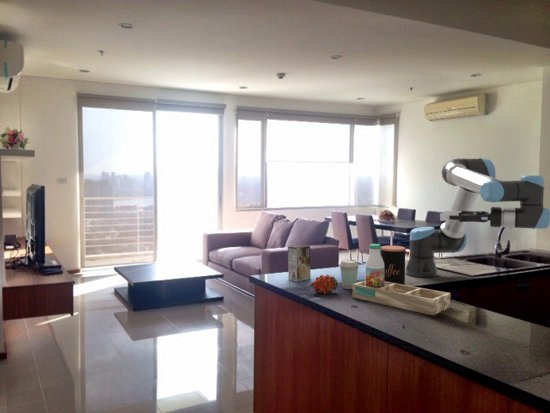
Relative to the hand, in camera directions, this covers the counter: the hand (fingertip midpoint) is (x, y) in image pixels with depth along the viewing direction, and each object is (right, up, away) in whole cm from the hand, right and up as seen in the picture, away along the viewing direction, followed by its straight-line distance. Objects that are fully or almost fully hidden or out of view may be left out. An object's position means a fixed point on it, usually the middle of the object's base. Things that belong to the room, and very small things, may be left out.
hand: (442, 215), depth 187 cm
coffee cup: (-33, -33, +24) cm, 52 cm away
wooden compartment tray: (-17, -34, 0) cm, 38 cm away
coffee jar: (-14, -33, +24) cm, 43 cm away
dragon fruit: (-45, -34, +15) cm, 58 cm away
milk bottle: (-25, -32, +8) cm, 41 cm away
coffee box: (-54, -32, +41) cm, 75 cm away
